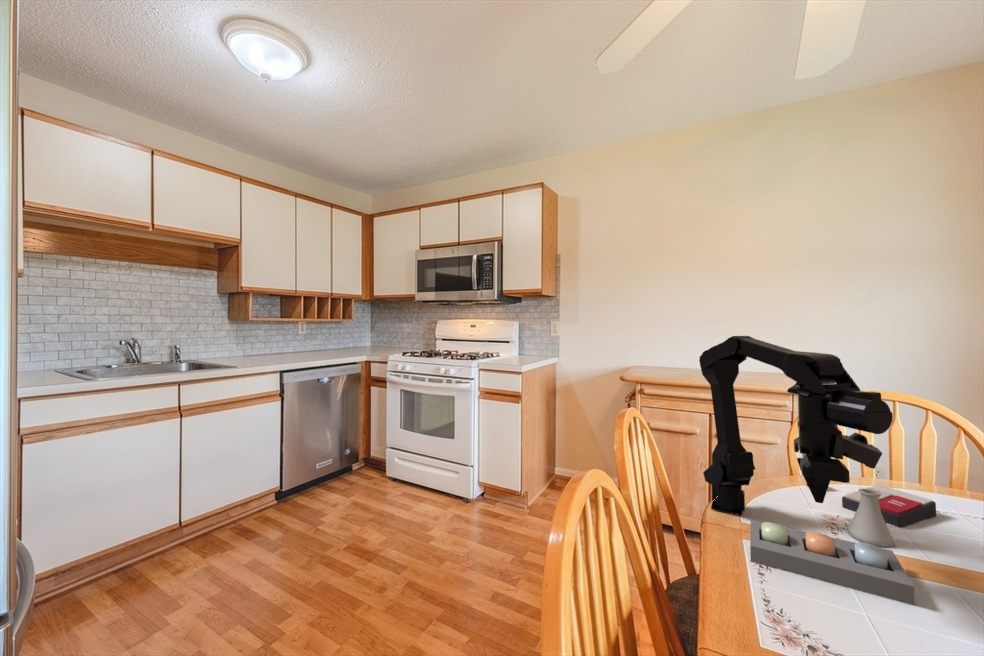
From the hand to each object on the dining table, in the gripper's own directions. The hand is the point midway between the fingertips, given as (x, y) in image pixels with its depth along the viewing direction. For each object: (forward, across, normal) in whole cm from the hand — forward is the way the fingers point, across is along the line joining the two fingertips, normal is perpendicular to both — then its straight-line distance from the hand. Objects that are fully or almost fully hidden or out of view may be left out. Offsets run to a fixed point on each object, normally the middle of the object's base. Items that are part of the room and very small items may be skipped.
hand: (818, 502), depth 73 cm
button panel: (+12, 0, 0) cm, 12 cm away
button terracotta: (+10, 0, 0) cm, 10 cm away
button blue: (+10, 0, -7) cm, 12 cm away
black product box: (+12, +35, -16) cm, 41 cm away
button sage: (+10, 0, +7) cm, 12 cm away
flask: (+12, +17, -10) cm, 23 cm away
